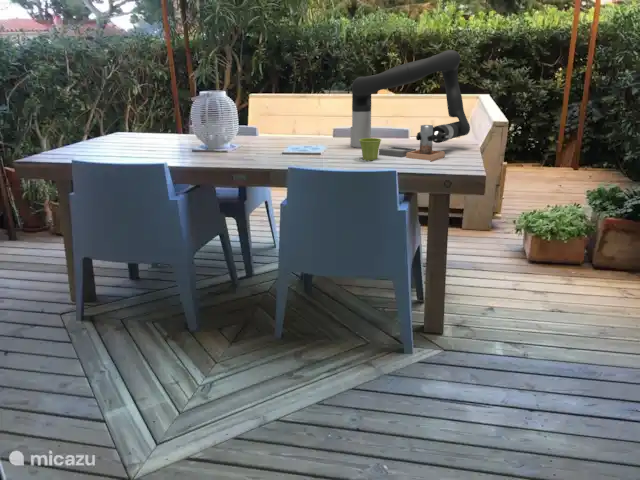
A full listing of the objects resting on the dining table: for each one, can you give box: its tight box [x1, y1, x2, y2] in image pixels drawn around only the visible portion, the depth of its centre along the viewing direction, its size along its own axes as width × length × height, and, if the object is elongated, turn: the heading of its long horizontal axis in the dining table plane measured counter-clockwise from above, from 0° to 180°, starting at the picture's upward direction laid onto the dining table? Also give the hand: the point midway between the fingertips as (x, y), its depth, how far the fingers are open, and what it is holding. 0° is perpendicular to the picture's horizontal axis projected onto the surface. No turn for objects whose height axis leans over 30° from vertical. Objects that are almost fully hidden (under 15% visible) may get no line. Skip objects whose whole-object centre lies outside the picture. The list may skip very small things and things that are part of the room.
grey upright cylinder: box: [419, 124, 434, 155], centre depth 233 cm, size 5×5×12 cm
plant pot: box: [359, 137, 382, 162], centre depth 234 cm, size 9×9×9 cm
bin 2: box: [405, 148, 446, 163], centre depth 235 cm, size 12×12×3 cm
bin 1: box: [378, 146, 417, 158], centre depth 244 cm, size 12×12×3 cm
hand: (423, 138), depth 231 cm, fingers closed on grey upright cylinder, 5 cm apart
